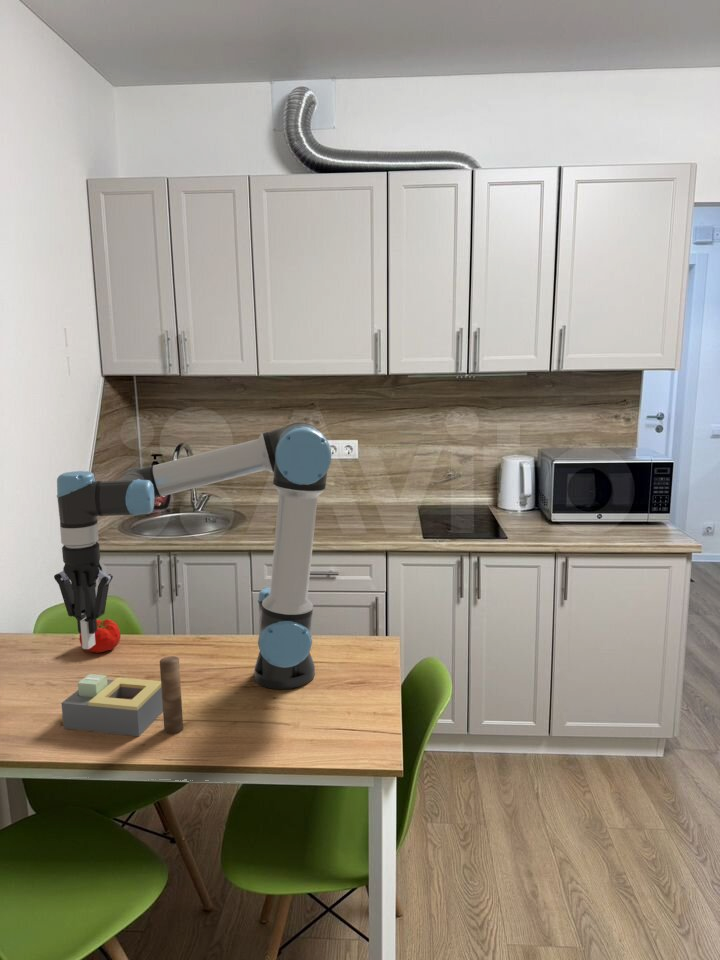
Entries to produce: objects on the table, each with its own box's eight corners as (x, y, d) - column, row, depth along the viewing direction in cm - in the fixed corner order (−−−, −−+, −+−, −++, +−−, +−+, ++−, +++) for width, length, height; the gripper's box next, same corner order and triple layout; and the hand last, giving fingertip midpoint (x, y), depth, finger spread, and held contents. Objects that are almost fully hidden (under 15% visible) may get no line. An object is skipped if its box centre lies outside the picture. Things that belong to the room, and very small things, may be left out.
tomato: (98, 660, 189) (96, 633, 188) (72, 651, 195) (70, 625, 194) (130, 646, 198) (128, 620, 197) (105, 638, 204) (103, 613, 203)
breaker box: (165, 708, 163) (163, 681, 162) (139, 736, 151) (136, 706, 150) (94, 702, 167) (92, 675, 165) (63, 728, 155) (61, 699, 154)
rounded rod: (186, 725, 156) (182, 657, 153) (178, 735, 152) (173, 664, 149) (169, 723, 156) (165, 655, 153) (160, 733, 152) (156, 663, 150)
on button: (108, 692, 161) (106, 675, 160) (97, 701, 156) (95, 684, 156) (90, 690, 162) (89, 673, 161) (79, 699, 157) (77, 682, 157)
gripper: (117, 540, 155) (124, 642, 159) (64, 537, 158) (72, 637, 162) (98, 549, 148) (106, 655, 152) (42, 546, 150) (52, 651, 155)
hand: (89, 646), depth 157 cm, fingers closed
